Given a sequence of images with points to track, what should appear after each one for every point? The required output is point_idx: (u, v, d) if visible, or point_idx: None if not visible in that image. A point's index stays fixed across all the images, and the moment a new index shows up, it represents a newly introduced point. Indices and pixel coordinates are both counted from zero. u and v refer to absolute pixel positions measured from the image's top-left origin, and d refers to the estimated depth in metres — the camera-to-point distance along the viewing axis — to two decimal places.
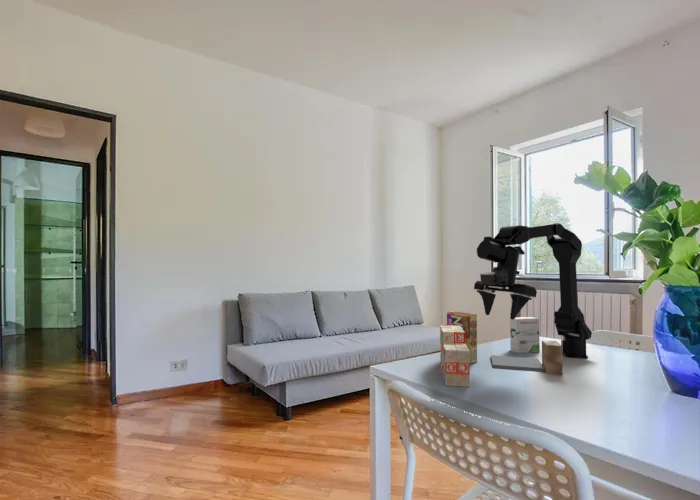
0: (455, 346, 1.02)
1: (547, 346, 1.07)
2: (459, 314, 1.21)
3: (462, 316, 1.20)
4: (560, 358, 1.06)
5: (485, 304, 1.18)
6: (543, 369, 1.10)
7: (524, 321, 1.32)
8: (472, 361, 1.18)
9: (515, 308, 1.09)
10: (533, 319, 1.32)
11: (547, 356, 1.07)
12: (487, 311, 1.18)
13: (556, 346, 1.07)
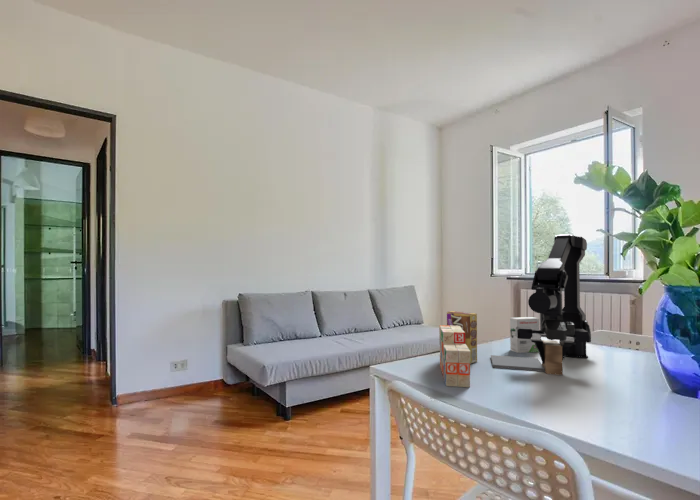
0: (455, 346, 1.01)
1: (547, 346, 1.07)
2: (459, 314, 1.21)
3: (462, 316, 1.20)
4: (560, 358, 1.06)
5: (542, 353, 1.10)
6: (543, 369, 1.10)
7: (524, 321, 1.32)
8: (472, 361, 1.18)
9: None
10: (533, 319, 1.32)
11: (547, 356, 1.07)
12: None
13: (556, 346, 1.07)
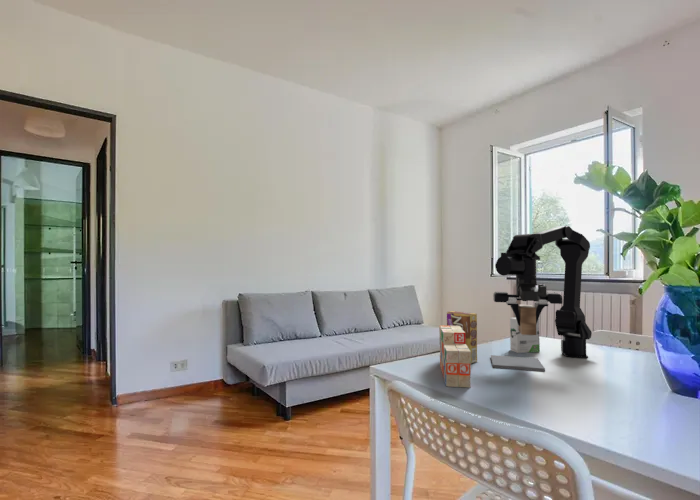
0: (456, 347, 1.01)
1: (522, 308, 1.14)
2: (459, 314, 1.21)
3: (462, 316, 1.20)
4: (534, 319, 1.13)
5: (518, 316, 1.16)
6: (543, 369, 1.10)
7: None
8: (472, 361, 1.18)
9: (538, 315, 1.15)
10: None
11: (522, 317, 1.14)
12: (519, 322, 1.17)
13: (530, 308, 1.13)
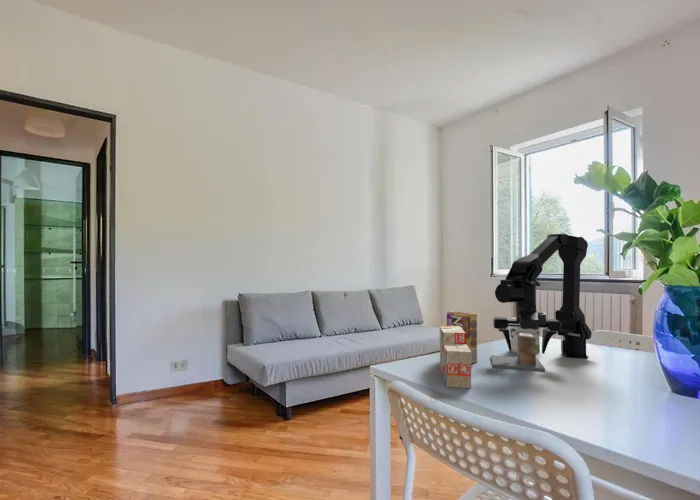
0: (456, 347, 1.01)
1: (521, 338, 1.14)
2: (459, 314, 1.21)
3: (462, 316, 1.20)
4: (533, 349, 1.13)
5: (509, 342, 1.17)
6: (543, 369, 1.10)
7: None
8: (472, 361, 1.18)
9: None
10: None
11: (521, 348, 1.14)
12: None
13: (530, 338, 1.13)
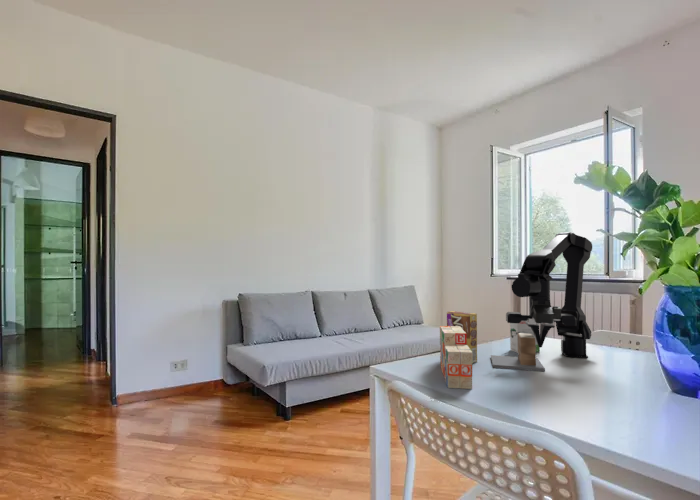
0: (457, 347, 1.00)
1: (521, 338, 1.14)
2: (459, 314, 1.21)
3: (462, 316, 1.20)
4: (533, 349, 1.13)
5: (538, 337, 1.15)
6: (543, 369, 1.10)
7: (524, 321, 1.32)
8: None
9: None
10: None
11: (521, 348, 1.14)
12: None
13: (529, 338, 1.13)
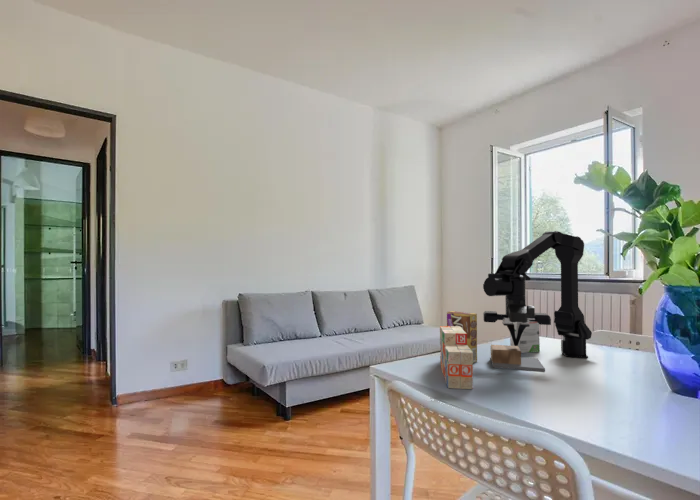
0: (457, 348, 1.00)
1: (493, 361, 1.16)
2: (459, 314, 1.21)
3: (462, 316, 1.20)
4: (504, 351, 1.15)
5: (514, 336, 1.17)
6: (543, 369, 1.10)
7: None
8: None
9: (520, 335, 1.17)
10: None
11: (503, 362, 1.15)
12: None
13: (493, 354, 1.16)
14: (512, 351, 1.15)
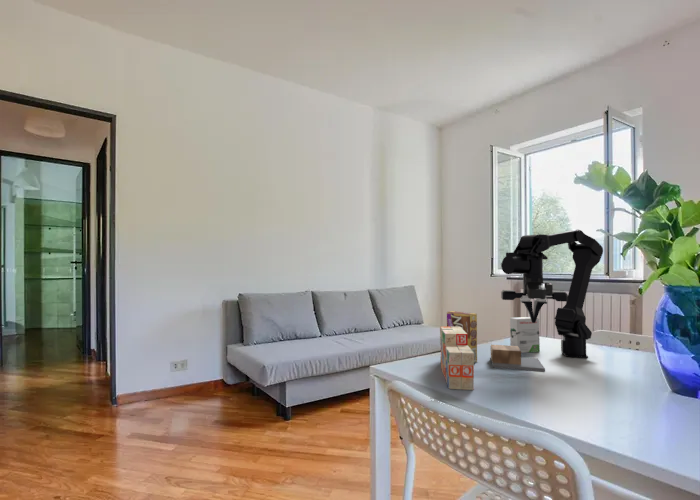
0: (458, 348, 0.99)
1: (493, 361, 1.16)
2: (459, 314, 1.21)
3: (462, 316, 1.20)
4: (504, 351, 1.15)
5: (532, 313, 1.21)
6: (543, 369, 1.10)
7: (524, 321, 1.32)
8: None
9: (538, 312, 1.21)
10: None
11: (503, 362, 1.15)
12: None
13: (493, 354, 1.16)
14: (512, 351, 1.15)
